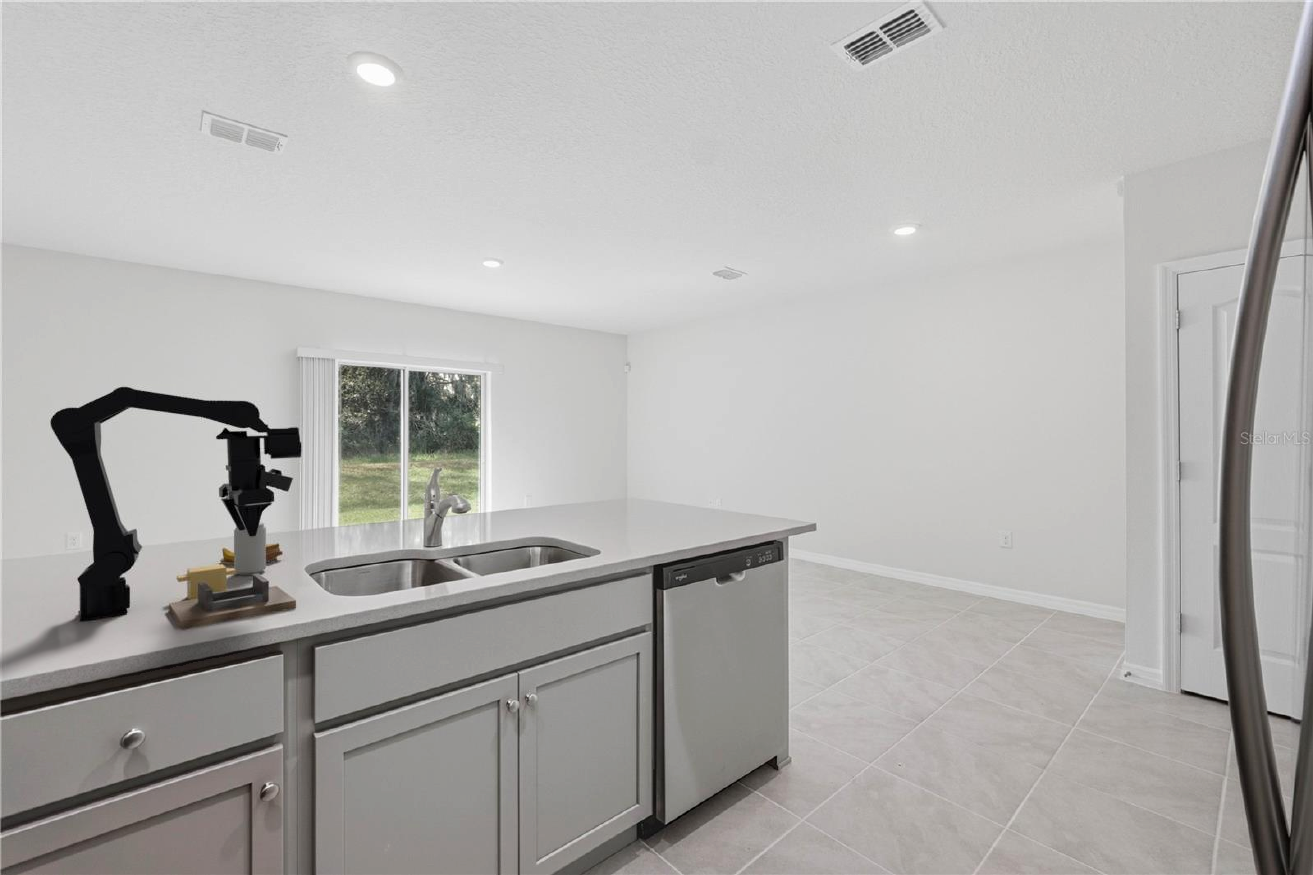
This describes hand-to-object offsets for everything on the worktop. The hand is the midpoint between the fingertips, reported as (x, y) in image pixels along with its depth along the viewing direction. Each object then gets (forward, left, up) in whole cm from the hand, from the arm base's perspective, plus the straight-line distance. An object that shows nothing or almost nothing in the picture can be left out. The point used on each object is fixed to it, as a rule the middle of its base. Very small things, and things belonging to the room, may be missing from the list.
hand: (247, 533), depth 124 cm
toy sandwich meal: (+8, +34, -14) cm, 38 cm away
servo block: (-6, +5, -13) cm, 16 cm away
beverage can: (+5, +21, -14) cm, 25 cm away
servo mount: (-4, -9, -13) cm, 17 cm away
